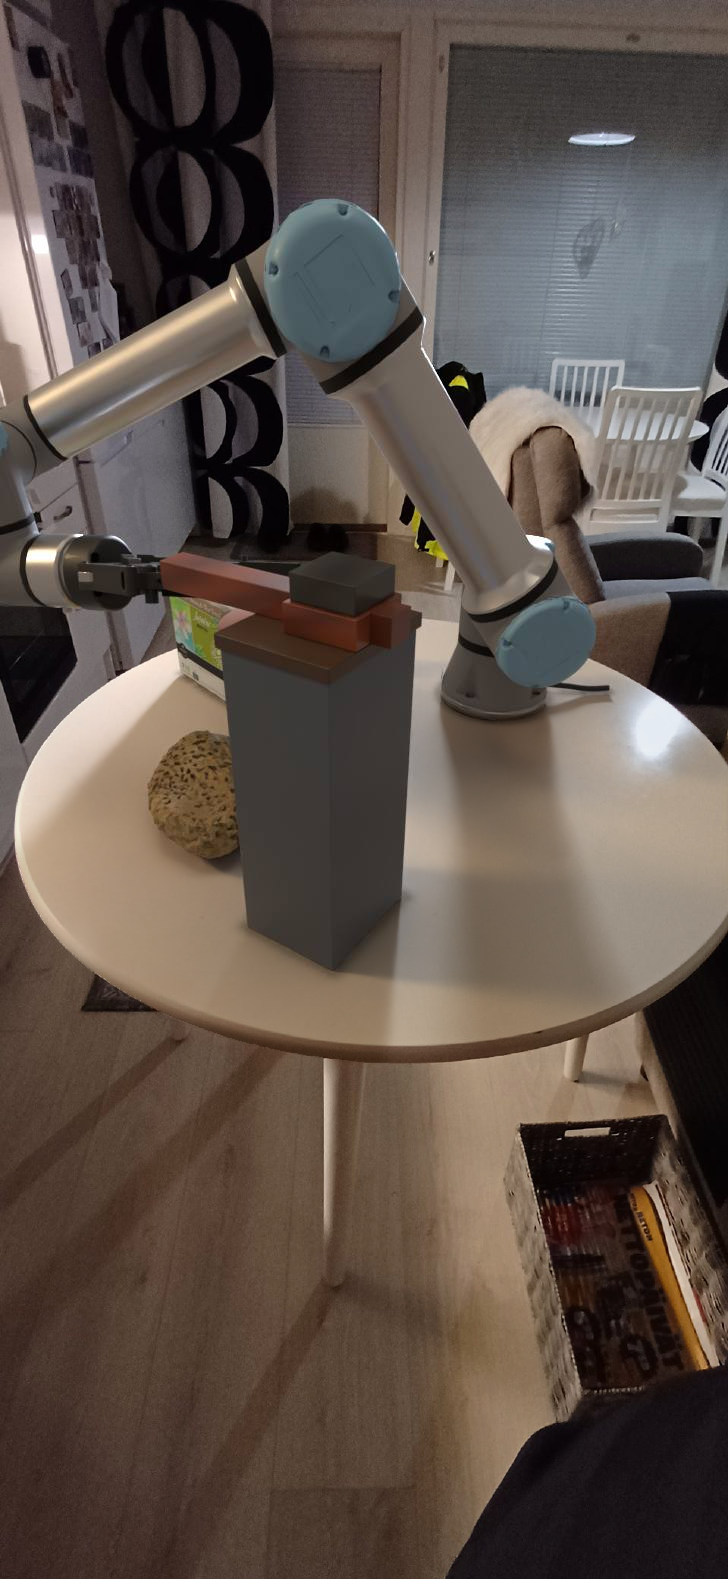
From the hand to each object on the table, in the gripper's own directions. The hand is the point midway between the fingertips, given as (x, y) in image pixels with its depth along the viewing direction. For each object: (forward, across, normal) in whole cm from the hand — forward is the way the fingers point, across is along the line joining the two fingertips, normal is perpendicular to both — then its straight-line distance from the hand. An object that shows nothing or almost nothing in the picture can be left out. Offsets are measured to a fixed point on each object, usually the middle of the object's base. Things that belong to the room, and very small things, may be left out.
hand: (266, 579), depth 73 cm
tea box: (-25, -34, -17) cm, 46 cm away
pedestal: (+8, +4, -31) cm, 32 cm away
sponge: (-11, -5, -27) cm, 29 cm away
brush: (+7, +11, -2) cm, 13 cm away
